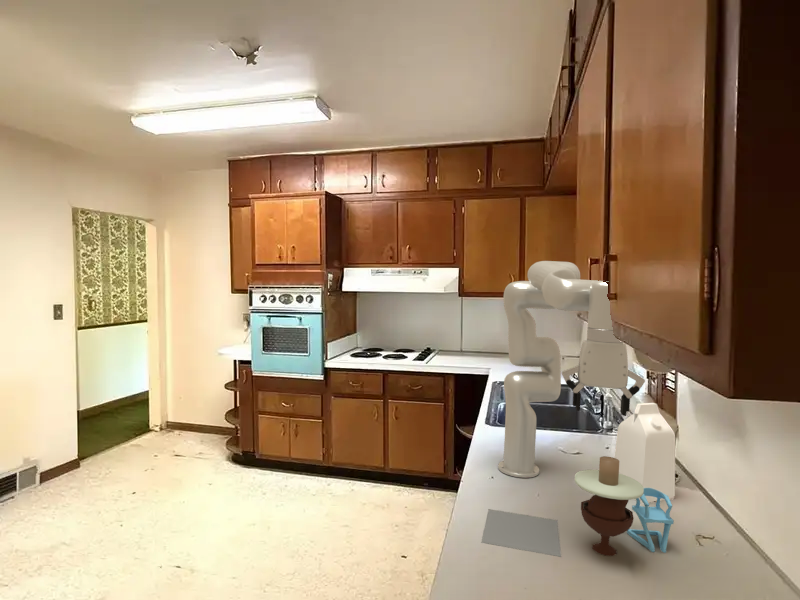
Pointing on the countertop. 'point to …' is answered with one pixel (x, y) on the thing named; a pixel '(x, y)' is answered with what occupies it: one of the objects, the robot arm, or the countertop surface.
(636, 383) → the robot arm
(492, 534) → the mat
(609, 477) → the lid
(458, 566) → the countertop surface
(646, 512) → the chair
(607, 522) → the ice cream bowl
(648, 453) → the milk
